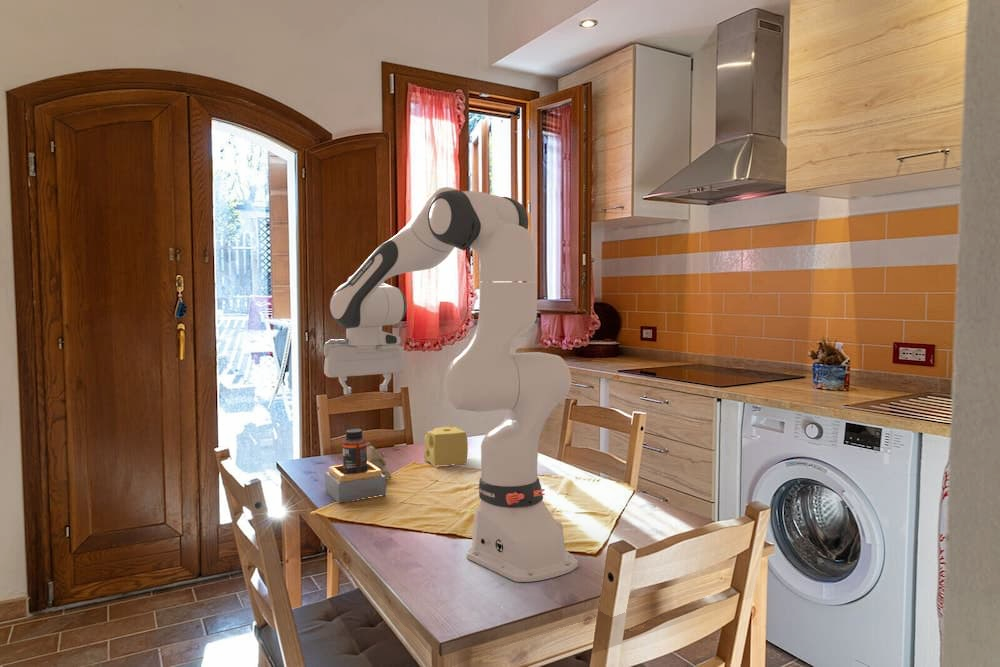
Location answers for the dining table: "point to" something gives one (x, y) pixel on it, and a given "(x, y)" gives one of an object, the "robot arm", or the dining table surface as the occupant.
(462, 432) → the cheese
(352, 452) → the supplement bottle
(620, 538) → the dining table surface
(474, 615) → the dining table surface
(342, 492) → the grey wooden-rimmed box
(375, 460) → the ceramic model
